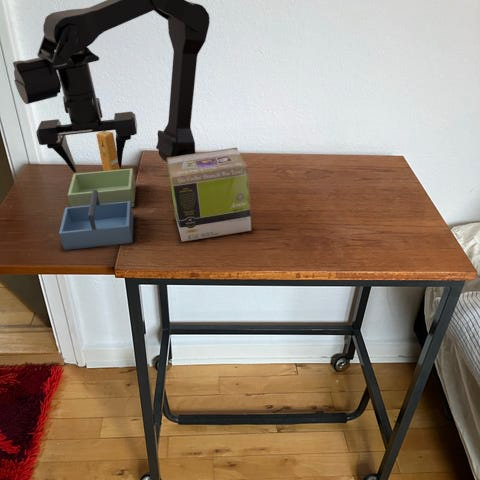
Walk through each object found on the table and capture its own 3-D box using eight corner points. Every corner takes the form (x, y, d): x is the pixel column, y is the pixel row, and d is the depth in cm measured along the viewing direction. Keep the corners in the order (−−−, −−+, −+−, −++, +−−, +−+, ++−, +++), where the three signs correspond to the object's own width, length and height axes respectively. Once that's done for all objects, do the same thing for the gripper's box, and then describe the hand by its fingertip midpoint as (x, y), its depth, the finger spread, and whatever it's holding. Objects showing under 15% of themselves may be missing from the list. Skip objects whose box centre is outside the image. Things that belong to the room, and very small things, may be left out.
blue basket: (133, 216, 119) (127, 186, 114) (132, 243, 111) (125, 211, 106) (70, 223, 118) (61, 192, 113) (63, 250, 110) (54, 218, 105)
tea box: (241, 210, 119) (238, 145, 110) (251, 232, 112) (249, 165, 102) (174, 219, 117) (165, 155, 108) (180, 243, 110) (171, 176, 100)
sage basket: (135, 185, 131) (132, 168, 128) (134, 206, 123) (130, 188, 120) (78, 191, 130) (73, 173, 127) (72, 212, 122) (67, 194, 119)
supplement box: (121, 170, 138) (114, 131, 132) (112, 175, 136) (104, 136, 130) (112, 167, 140) (104, 129, 133) (103, 172, 138) (94, 134, 131)
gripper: (129, 72, 106) (143, 148, 116) (34, 82, 105) (56, 158, 115) (128, 90, 98) (143, 170, 108) (25, 101, 97) (49, 181, 107)
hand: (97, 169), depth 110 cm, fingers open, 9 cm apart
